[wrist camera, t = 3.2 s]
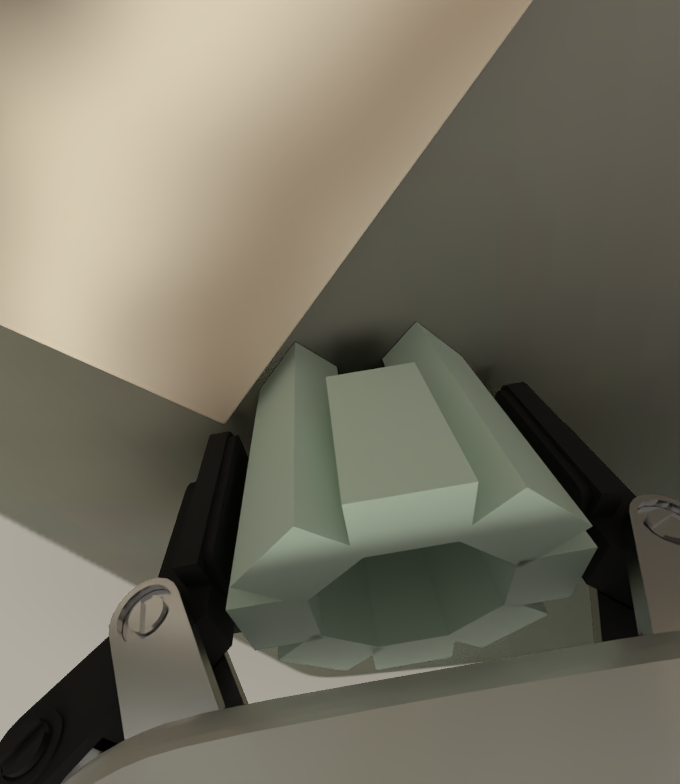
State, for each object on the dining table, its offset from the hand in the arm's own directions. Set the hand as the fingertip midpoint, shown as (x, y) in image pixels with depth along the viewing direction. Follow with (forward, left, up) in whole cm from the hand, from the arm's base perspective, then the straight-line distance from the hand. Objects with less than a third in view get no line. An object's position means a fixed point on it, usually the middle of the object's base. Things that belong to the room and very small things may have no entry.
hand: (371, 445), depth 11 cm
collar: (0, 0, -1) cm, 1 cm away
